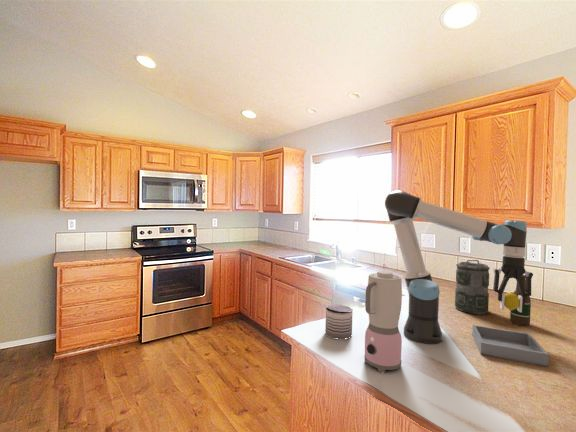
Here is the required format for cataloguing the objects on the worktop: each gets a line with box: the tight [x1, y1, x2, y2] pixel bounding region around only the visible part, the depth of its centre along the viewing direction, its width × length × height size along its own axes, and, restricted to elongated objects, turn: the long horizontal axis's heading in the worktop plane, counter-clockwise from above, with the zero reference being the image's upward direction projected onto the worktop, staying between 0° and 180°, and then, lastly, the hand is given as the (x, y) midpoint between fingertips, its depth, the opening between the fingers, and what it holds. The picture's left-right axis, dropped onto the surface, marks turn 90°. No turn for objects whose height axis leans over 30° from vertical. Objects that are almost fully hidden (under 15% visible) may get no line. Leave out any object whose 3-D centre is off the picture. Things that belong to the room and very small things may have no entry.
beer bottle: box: [509, 274, 532, 327], centre depth 145 cm, size 8×8×24 cm
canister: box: [454, 259, 491, 315], centre depth 164 cm, size 16×16×28 cm
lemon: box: [504, 291, 519, 311], centre depth 127 cm, size 6×6×8 cm
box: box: [471, 324, 550, 368], centre depth 116 cm, size 20×20×4 cm
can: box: [324, 303, 354, 339], centre depth 126 cm, size 11×11×12 cm
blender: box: [364, 270, 403, 373], centre depth 101 cm, size 16×12×32 cm
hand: (510, 309), depth 127 cm, fingers closed on lemon, 5 cm apart
